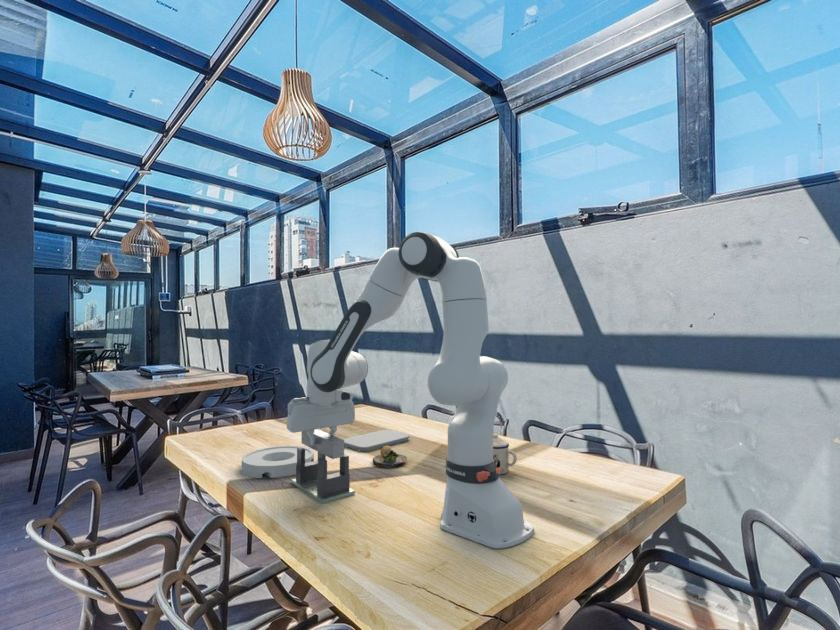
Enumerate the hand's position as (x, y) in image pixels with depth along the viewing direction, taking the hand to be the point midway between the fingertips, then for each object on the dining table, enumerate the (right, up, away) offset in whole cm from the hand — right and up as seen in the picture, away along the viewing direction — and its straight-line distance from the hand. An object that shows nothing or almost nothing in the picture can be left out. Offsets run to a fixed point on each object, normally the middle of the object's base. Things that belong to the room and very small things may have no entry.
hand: (321, 443), depth 124 cm
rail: (0, -2, 0) cm, 2 cm away
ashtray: (-19, -14, +20) cm, 31 cm away
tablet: (+11, -15, +50) cm, 53 cm away
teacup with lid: (+54, -14, +14) cm, 58 cm away
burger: (+18, -14, +23) cm, 33 cm away
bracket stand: (0, -13, -1) cm, 13 cm away
